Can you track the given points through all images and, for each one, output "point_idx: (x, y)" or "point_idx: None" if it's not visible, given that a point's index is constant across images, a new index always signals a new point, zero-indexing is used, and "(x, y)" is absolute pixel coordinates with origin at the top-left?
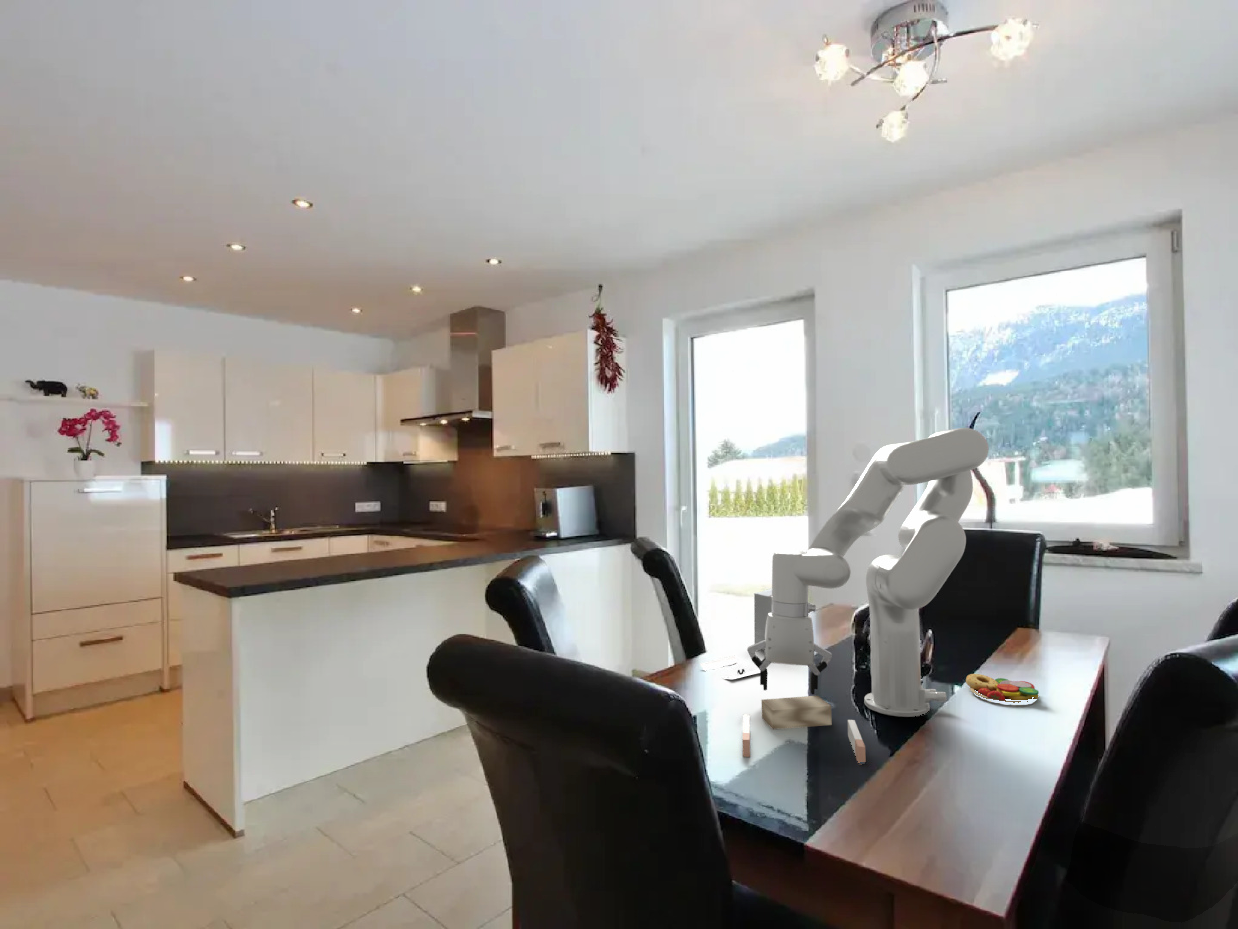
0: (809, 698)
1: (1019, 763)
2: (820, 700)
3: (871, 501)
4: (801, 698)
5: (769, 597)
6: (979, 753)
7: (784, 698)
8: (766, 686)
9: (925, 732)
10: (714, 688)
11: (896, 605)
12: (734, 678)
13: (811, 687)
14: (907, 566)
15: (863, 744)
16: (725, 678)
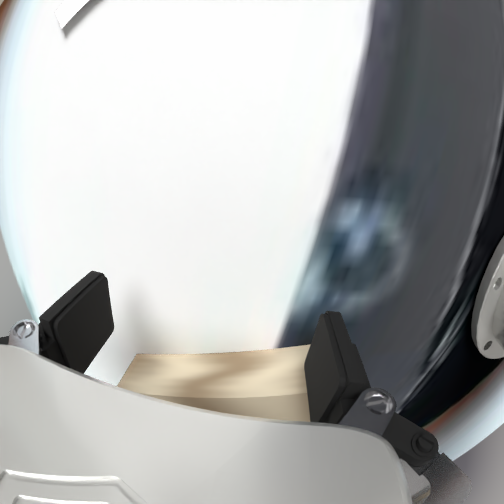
0: (275, 411)
1: (470, 441)
2: (308, 421)
3: None
4: (245, 407)
5: None
6: (461, 435)
7: (183, 399)
8: (105, 338)
9: (466, 401)
10: (19, 108)
11: None
12: (71, 13)
13: (308, 386)
14: None
15: None
16: (58, 12)
